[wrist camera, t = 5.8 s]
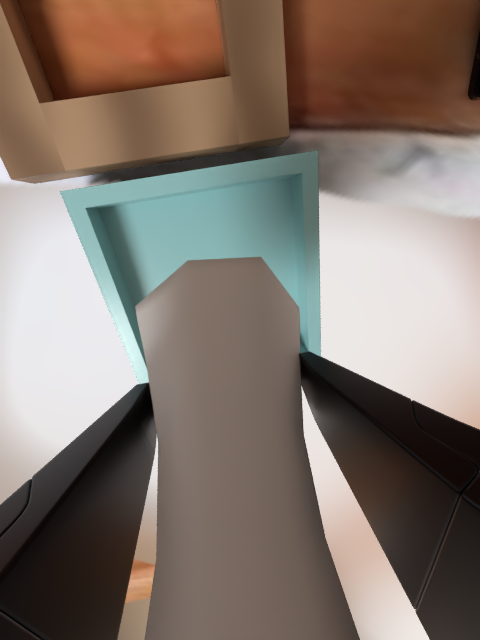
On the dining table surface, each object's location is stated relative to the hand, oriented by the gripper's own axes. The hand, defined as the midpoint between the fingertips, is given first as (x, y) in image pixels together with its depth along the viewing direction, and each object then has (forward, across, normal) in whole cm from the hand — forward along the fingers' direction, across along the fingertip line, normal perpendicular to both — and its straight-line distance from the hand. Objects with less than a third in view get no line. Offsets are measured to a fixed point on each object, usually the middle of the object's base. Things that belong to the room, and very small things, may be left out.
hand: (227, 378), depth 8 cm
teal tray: (+12, 0, 0) cm, 12 cm away
